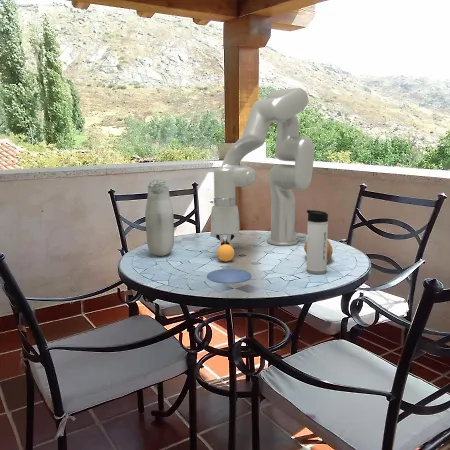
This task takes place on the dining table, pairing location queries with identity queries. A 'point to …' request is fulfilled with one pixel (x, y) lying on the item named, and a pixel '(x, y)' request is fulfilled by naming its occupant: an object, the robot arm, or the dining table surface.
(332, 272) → the dining table surface
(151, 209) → the grey beige bottle
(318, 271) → the travel mug
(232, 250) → the ball
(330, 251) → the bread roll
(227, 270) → the disc
